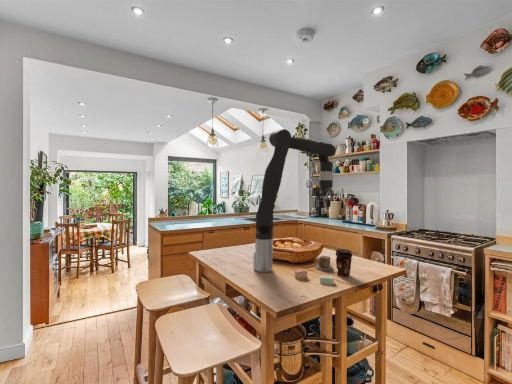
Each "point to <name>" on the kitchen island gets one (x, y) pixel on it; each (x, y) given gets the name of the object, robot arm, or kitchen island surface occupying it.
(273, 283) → the kitchen island surface
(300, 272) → the small brown block
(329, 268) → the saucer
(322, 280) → the sage block
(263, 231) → the robot arm
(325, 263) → the walnut block
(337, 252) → the coffee cup
